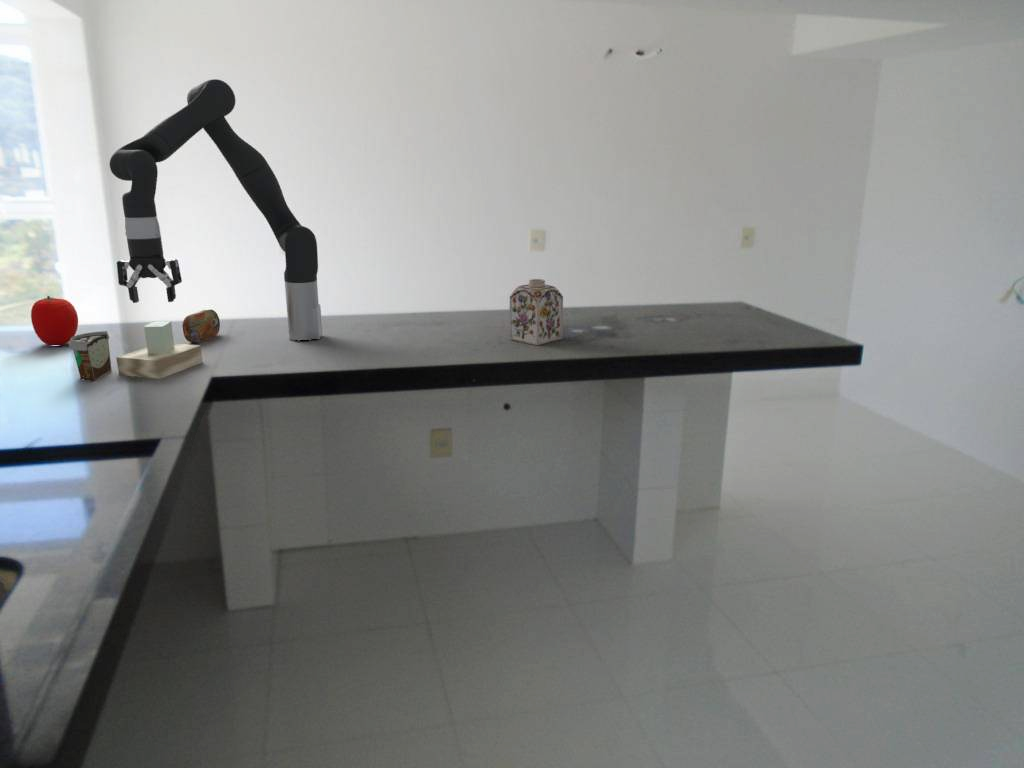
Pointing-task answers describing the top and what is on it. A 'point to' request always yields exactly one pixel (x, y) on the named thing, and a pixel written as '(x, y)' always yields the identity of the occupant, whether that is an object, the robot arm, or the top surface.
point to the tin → (201, 326)
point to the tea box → (159, 337)
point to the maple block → (159, 361)
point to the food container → (91, 354)
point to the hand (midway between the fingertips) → (153, 301)
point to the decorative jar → (536, 313)
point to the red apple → (54, 320)
